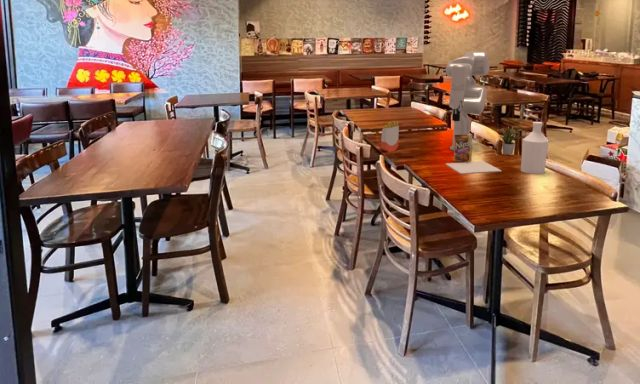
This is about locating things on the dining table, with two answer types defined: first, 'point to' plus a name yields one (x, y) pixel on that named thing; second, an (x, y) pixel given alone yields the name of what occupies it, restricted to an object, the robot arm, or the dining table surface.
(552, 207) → the dining table surface
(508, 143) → the house plant
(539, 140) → the bottle
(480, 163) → the felt mat
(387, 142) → the french fries container
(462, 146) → the candy box
